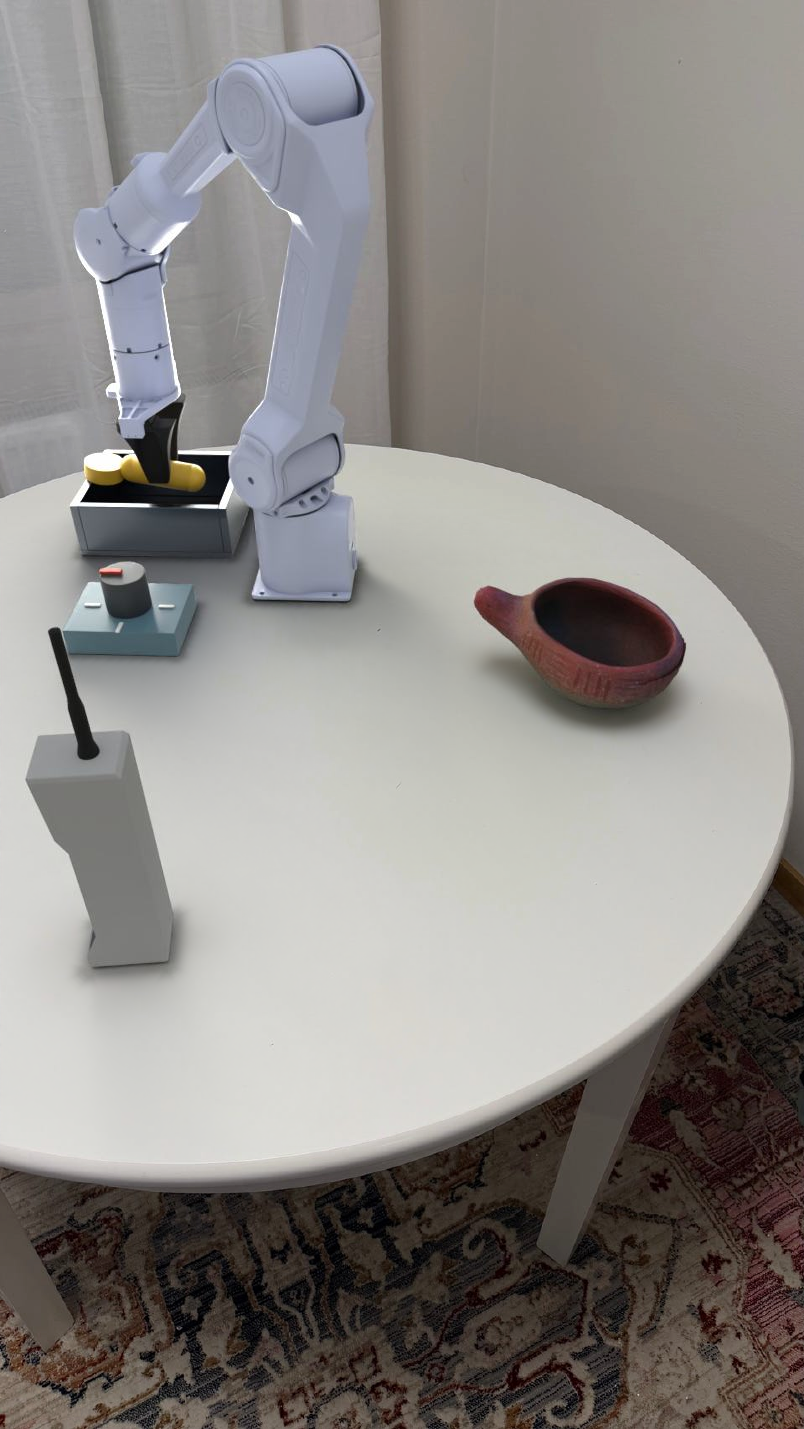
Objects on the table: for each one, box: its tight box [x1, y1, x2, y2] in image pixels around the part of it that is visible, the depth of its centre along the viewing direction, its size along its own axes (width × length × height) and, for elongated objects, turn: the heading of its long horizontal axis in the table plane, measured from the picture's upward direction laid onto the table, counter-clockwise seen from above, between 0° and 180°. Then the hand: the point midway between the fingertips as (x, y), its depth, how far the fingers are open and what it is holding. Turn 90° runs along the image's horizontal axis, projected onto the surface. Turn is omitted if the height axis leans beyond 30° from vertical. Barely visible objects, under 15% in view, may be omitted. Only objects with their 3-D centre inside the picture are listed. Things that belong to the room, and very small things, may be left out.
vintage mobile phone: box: [25, 626, 174, 968], centre depth 57 cm, size 4×5×25 cm
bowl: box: [473, 577, 687, 709], centre depth 83 cm, size 16×13×8 cm
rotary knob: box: [98, 561, 152, 618], centre depth 90 cm, size 4×4×4 cm
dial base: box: [61, 581, 198, 657], centre depth 92 cm, size 10×8×3 cm
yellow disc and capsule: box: [83, 452, 206, 492], centre depth 104 cm, size 12×4×3 cm, turn 87°
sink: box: [69, 449, 251, 559], centre depth 105 cm, size 16×13×6 cm
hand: (163, 474), depth 104 cm, fingers closed on yellow disc and capsule, 3 cm apart
